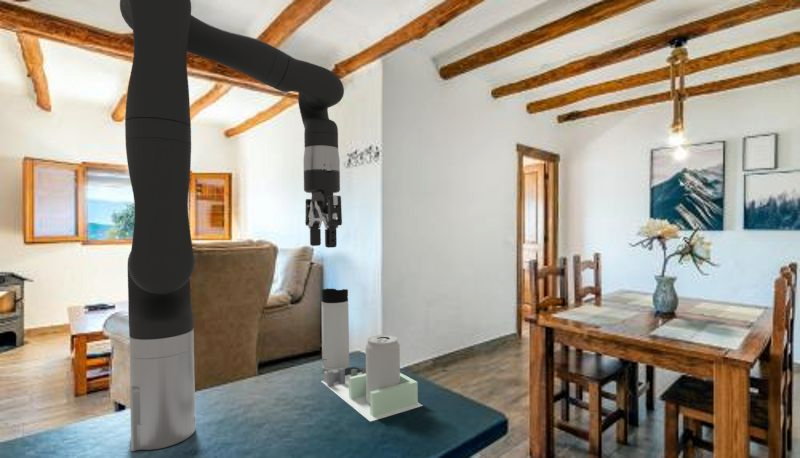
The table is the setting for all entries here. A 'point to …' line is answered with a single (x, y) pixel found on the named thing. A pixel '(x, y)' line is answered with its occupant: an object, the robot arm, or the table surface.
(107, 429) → the table surface
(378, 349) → the beverage can
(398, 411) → the board
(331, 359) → the travel mug
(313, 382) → the table surface
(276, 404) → the table surface
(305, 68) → the robot arm
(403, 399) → the end holder
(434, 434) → the table surface
